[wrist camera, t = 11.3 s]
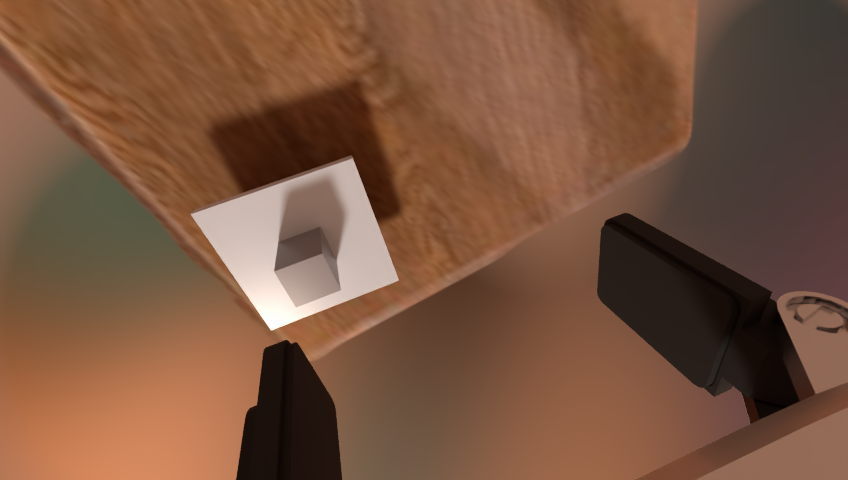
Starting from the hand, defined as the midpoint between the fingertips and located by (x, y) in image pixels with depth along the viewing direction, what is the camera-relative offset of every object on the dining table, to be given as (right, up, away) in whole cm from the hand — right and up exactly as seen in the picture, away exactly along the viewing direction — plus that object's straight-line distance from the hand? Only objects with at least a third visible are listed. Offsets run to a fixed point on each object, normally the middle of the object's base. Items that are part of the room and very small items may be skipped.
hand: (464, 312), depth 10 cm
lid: (-12, +1, +24) cm, 27 cm away
